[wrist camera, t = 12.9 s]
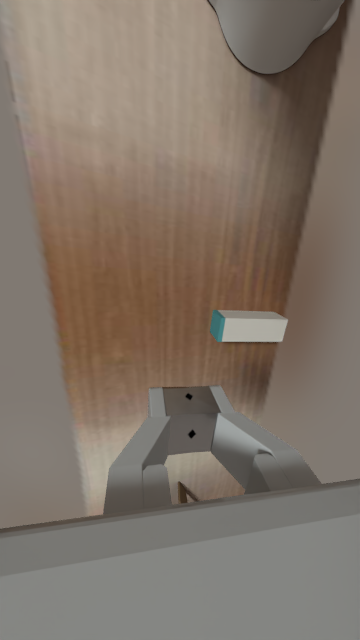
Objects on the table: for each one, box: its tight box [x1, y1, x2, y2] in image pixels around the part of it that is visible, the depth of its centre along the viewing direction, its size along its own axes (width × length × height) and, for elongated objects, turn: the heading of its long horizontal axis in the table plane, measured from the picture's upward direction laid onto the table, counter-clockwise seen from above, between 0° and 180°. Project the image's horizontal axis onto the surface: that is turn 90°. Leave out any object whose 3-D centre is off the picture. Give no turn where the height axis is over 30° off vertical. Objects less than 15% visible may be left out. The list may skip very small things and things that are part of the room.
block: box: [210, 310, 288, 342], centre depth 42 cm, size 4×4×13 cm
